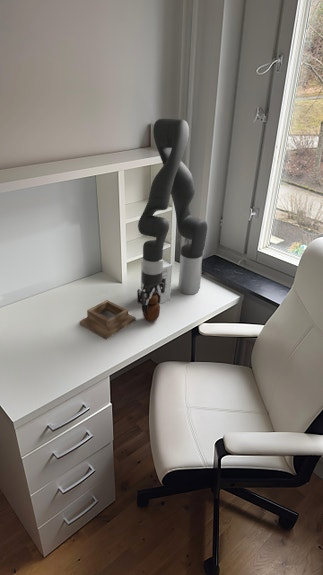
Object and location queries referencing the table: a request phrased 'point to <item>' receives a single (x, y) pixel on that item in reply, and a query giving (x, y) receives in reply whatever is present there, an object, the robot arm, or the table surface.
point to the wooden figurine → (152, 308)
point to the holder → (107, 319)
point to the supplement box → (166, 275)
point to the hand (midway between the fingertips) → (151, 307)
